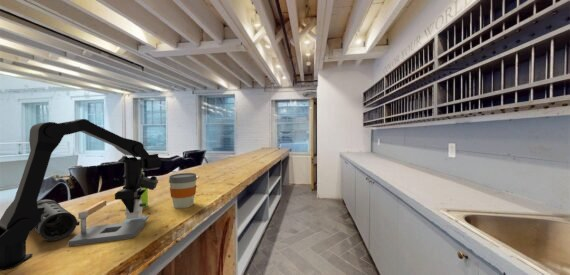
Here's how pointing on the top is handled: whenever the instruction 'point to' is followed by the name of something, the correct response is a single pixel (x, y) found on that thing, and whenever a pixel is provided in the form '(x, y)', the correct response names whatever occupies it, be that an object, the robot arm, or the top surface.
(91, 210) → the tan wooden bar
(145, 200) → the soap dispenser
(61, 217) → the muzzle brake
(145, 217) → the mat
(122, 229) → the socket block
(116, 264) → the top surface
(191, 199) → the reusable coffee cup
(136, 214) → the plug
